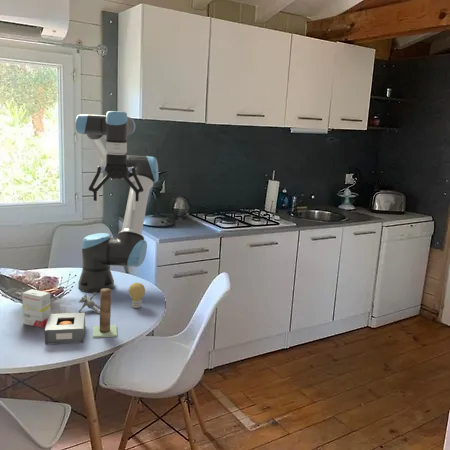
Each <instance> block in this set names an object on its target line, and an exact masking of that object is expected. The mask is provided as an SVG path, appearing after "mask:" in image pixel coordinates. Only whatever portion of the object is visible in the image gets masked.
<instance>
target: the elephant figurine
mask: <svg viewBox="0 0 450 450" xmlns="http://www.w3.org/2000/svg"><path fill="white" fill-rule="evenodd" d="M96 295H97V293H96V292H95V293H93V294H92V295H91V296H89V298H88V295H87V293H85V294H84V295H83V296H82V297H81V299H80V300H79V301H78V303H82V304H83V305H82V306H81V308H80V309H79V310H78V311H77V313H81V311H82V310H83V309H84V308H85V307H86V306H87V308H88V309H91V310H92V311H94V312H95V313H97V314H99V315H100V305H99V304H97V303H95V301H94V300H93V298H94V296H96ZM98 309H99V310H98Z"/></svg>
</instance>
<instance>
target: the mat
mask: <svg viewBox="0 0 450 450" xmlns="http://www.w3.org/2000/svg"><path fill="white" fill-rule="evenodd" d="M117 327H118V326H117V324H110V331H109V332H107V333H102V332H100V325H93V329H92V338H95V339H97V338H115V337H118V334H117V333H118V332H117V330H118V328H117Z"/></svg>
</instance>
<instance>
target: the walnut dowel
mask: <svg viewBox="0 0 450 450" xmlns="http://www.w3.org/2000/svg"><path fill="white" fill-rule="evenodd" d="M99 295H100V296H99V298H100V299H99V306H100V309H99V311H100V313H99V326H100V332H102V333H107V332H109V331H110V325H111V313H112V311H111V309H112V289H108V288H104V289H101V290H100V292H99Z"/></svg>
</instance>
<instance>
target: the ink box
mask: <svg viewBox="0 0 450 450" xmlns="http://www.w3.org/2000/svg"><path fill="white" fill-rule="evenodd" d="M21 296H22V298H21V299H22V301H21V302H22V318H23V319H22V320H23V325H26V326H32V327H37V328H41V329H42V328H44V329H45V328H46V324H47V321H48V317H49V314H52V312H51V311H52V309H51V307H52V305H51V293H50V292H46V291H42V290H37V289H32V288H31V289H29V290H26V291H24V292H22V293H21Z"/></svg>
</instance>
